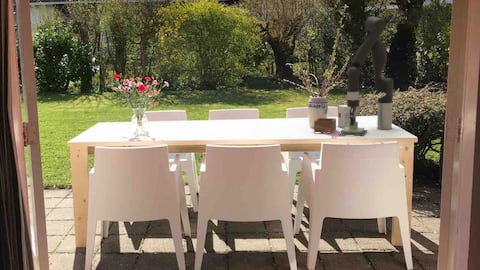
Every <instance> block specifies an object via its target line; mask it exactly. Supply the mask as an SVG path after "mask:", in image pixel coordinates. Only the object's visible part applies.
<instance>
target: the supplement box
mask: <svg viewBox="0 0 480 270" xmlns="http://www.w3.org/2000/svg"><path fill="white" fill-rule="evenodd" d="M350 109H351V107H348V106H347V104H338V106H337V127H338V126H339V128H341V127H342V128H341V129H344V128H345V127H349V122H350Z"/></svg>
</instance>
